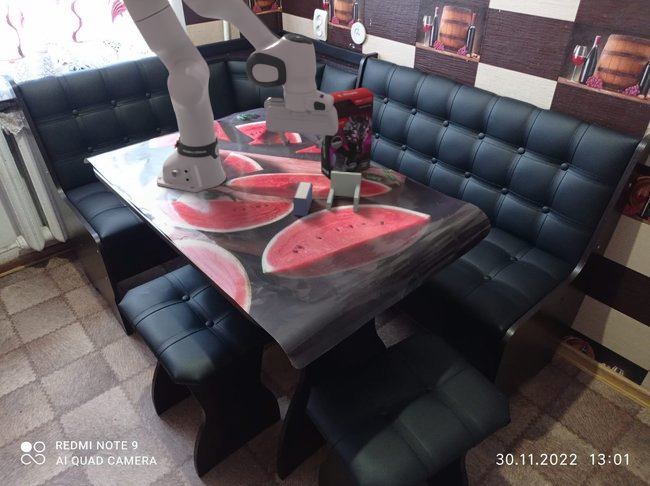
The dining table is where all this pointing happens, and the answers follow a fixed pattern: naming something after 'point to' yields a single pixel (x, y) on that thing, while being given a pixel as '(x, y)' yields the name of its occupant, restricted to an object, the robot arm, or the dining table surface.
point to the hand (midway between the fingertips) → (302, 146)
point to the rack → (345, 187)
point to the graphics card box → (349, 133)
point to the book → (302, 198)
